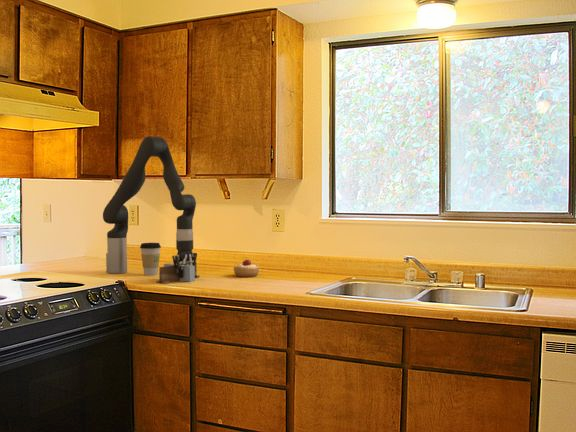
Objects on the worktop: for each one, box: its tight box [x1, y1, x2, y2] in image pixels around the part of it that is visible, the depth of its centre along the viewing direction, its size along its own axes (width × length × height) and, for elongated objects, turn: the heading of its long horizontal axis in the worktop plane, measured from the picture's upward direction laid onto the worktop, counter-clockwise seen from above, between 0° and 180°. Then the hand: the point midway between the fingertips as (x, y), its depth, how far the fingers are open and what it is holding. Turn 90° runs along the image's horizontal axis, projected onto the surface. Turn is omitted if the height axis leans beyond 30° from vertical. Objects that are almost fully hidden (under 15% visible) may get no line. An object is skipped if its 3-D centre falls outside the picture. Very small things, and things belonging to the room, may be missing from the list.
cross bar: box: [163, 262, 196, 283], centre depth 281 cm, size 16×3×7 cm, turn 56°
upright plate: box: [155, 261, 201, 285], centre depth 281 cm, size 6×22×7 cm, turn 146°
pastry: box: [233, 257, 260, 278], centre depth 293 cm, size 12×12×9 cm
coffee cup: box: [139, 242, 162, 277], centre depth 298 cm, size 10×10×15 cm
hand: (185, 276), depth 279 cm, fingers open, 4 cm apart
